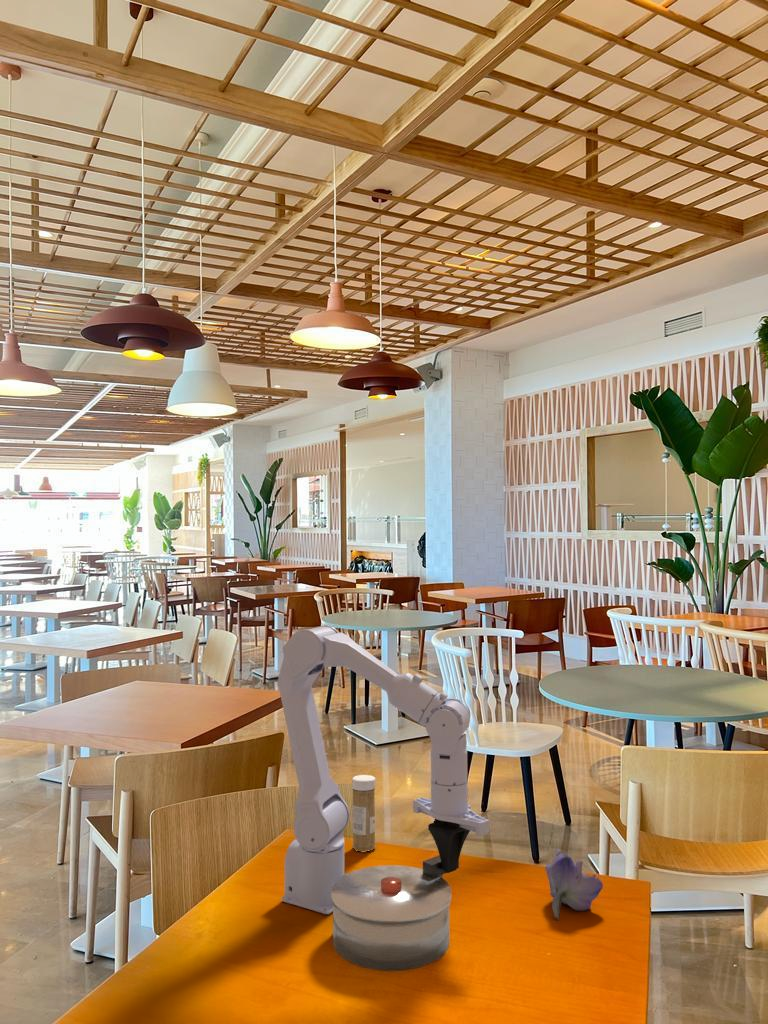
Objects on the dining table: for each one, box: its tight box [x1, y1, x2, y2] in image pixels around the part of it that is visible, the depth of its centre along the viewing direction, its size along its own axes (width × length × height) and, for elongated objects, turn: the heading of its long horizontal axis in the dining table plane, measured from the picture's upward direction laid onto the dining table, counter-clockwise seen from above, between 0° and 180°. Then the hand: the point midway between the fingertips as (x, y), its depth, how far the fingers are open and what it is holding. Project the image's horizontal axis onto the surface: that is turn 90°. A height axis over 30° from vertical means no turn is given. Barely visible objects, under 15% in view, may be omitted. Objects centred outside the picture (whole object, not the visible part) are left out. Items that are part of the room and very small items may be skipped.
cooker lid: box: [331, 855, 460, 924], centre depth 111 cm, size 22×18×3 cm
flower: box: [544, 848, 604, 921], centre depth 118 cm, size 9×9×10 cm
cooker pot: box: [332, 874, 450, 972], centre depth 112 cm, size 23×17×6 cm
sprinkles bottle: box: [351, 774, 377, 852], centre depth 144 cm, size 5×5×14 cm
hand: (450, 870), depth 115 cm, fingers closed
